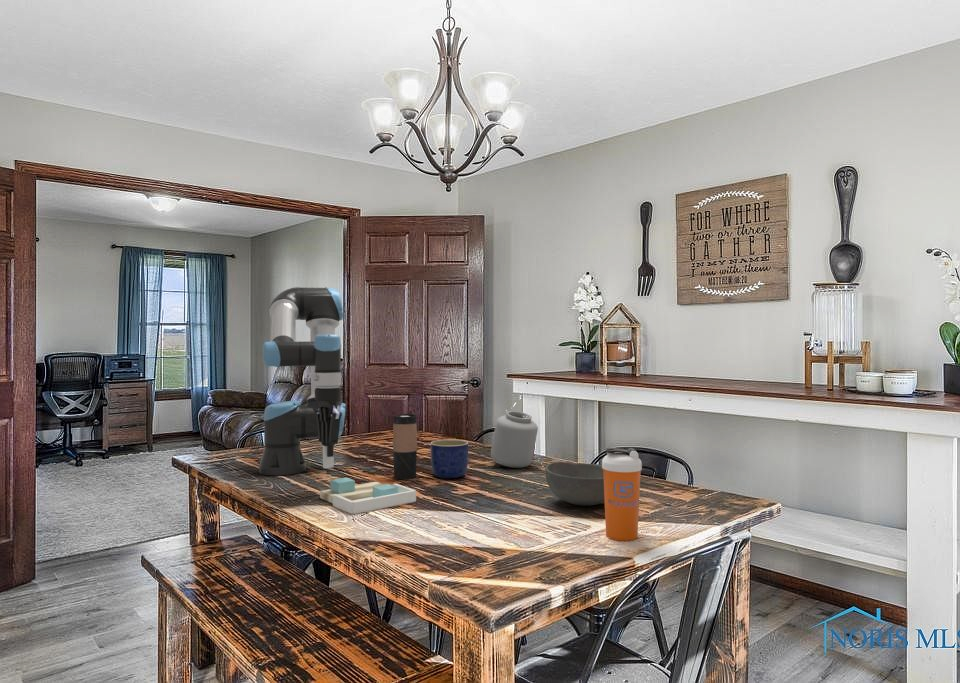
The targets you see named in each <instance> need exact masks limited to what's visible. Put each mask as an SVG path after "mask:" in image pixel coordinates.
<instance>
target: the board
mask: <svg viewBox="0 0 960 683" xmlns="http://www.w3.org/2000/svg"><path fill="white" fill-rule="evenodd" d="M380 485H386V483H385V484H384V483H382V482H378V481H370V482H364V483H359V484H355V491H352V492H347V493H341V494H338V493H335V492H333V491H331V488H329V489H323V490H319V498H320V499H322V500H323V501H325V502H329V503H330V504H333V495H334V494H337V495H340V496H342V497H344V498H347V499H349V500H357V499H362V498H368V497H373V487H374V486H380Z"/></svg>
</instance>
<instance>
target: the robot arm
mask: <svg viewBox="0 0 960 683" xmlns="http://www.w3.org/2000/svg"><path fill="white" fill-rule="evenodd" d="M269 317H270V318H271V331H270V332H271V333H270V336H271V337H270V341H266V342H264V343H263V344H262V345H263V346H262V354H263V356H262V360H263V364H264V366H266V367H275V368H278V367H310V395H309V396H308V397H307V398H306V404H301V401H300V400H287V401H280V402H275V403H271V404H269V405H267V406H266V407H265V408H264V415H263V416H264V417H263V421H264V424H263V425H264V431H263V432H264V435H263V436H264V442H263V443H264V450H263V452H262V455H261V458H260V461H259V465H258V473H259V474H261V475H264V476H265V475H266V476H286V475H288V476H289V475H295V474H300V473H303V472H305V471H306V470H307V468H306V467H307V464H306V460H305V457H304V454H303V450H302V448H301V440H306V439H307V440H309V439H318V442H319V443H321V445H322V468H323V469H330V468H332V469H333V468H334V466H335V465H334V464H335V463H334V460H335V458H334V457H335V454H334V452H335V451H334V449H335V448H334V447H335V445H337V444H338V442H339V437H340V436H341V435H342V434H343V432H344V426H345V416H346V406H347V405H346V403H344V402H342V388H341V387H340V386H341V385H342V372H341V371H342V369H341V368H342V367H341V361H342V360H341V358H342V355H341V354H342V352H341V351H342V343H341V336H340V335H339V334H336V328H338V327H339V325H340V321H342V320H343V319H344V310H343V301H342V296H341V293H340V291H339V290H338V289H337V288H330V287H301V286H300V287H299V286H296V287H290V288H287V289H286V290H283V291H281V292H280V293H279V294H277V295H276V296H275V297H274V298H273V299H272V301H271V303H270V305H269ZM297 320H299V321H305V326H306V327H307V328H309V330H310V335H309V336H310V338H309V339H310V340H309V341H297V340H296V336H297V334H296V332H297V331H296V323H297V322H296V321H297Z"/></svg>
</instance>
